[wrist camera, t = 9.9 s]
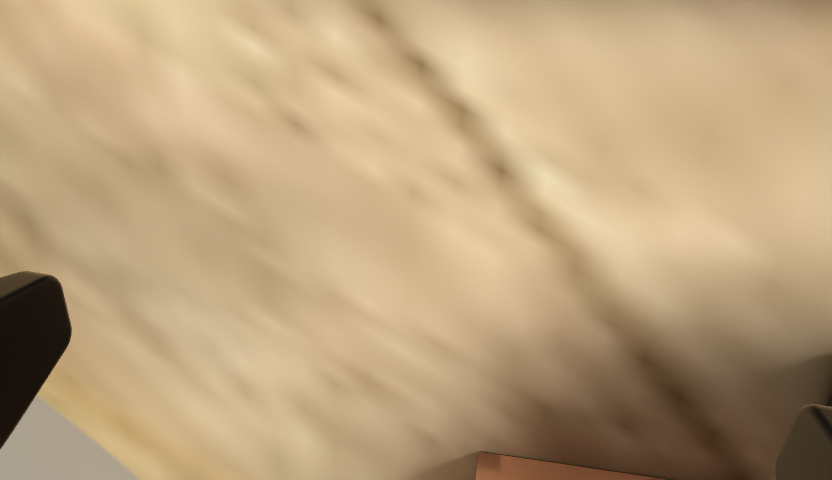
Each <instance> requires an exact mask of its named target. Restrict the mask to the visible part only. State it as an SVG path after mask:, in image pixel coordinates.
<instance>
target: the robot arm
mask: <svg viewBox="0 0 832 480" xmlns="http://www.w3.org/2000/svg"><path fill="white" fill-rule="evenodd" d="M71 331H72V328H71V323H70V319H69V314H68V310H67V306H66V302H65V298H64V293H63V289H62V286H61V283H60V282H59V281H58V279H57V278H55V277H53V276H51V275H47V274H41V273H35V272H28V271H25V272H18V273H15V274H11V275H8V276H5V277H1V278H0V449H1V448H2V446H3V445H4V443H5V442H6V440H7V439H8V438H9V436H10V434H11V433H12V432H13V430H14V429H15V427H16V425H17V424H18V423H19V421H20V419H21V418H22V416H23V415H24V413H25V412H26V410H27V409H28V407H29V406H30V404H31V402H32V401H33V399H34V398H35V396H36V395H37V393H38V392H39V390H40V389H41V387H42V385H43V384H44V382H45V381H46V379H47V378H48V376H49V375H50V373H51V372H52V370H53V368H54V367H55V365H56V364H57V362H58V361H59V359H60V358H61V356H62V355H63V353H64V351H65V350H66V348H67V346H68V344H69V342H70V338H71ZM776 480H832V394H831V396H830V399H829V401H828V403H827V406H822V405H817V404H808V405H805V406H803V407H802V408H801V409H800V410H799V412H798V413H797V415H796V417H795V420H794V422H793V424H792V426H791V428H790V430H789V433H788V435H787V437H786V439H785V441H784V444H783V446H782V448H781V450H780V452H779V455H778V458H777V462H776Z"/></svg>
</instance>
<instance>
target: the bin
mask: <svg viewBox="0 0 832 480" xmlns="http://www.w3.org/2000/svg"><path fill="white" fill-rule="evenodd" d="M475 480H667V479H660V478H653V477H647V476H640V475H633V474H626V473H620V472H613V471H606V470H599V469H593V468H586V467H579V466H572V465H566V464H559V463H552V462H545V461H539V460H532V459H525V458H518V457H511V456H505V455H498V454H491V453H484V452H479V455H478V463H477V470H476V478H475Z"/></svg>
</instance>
